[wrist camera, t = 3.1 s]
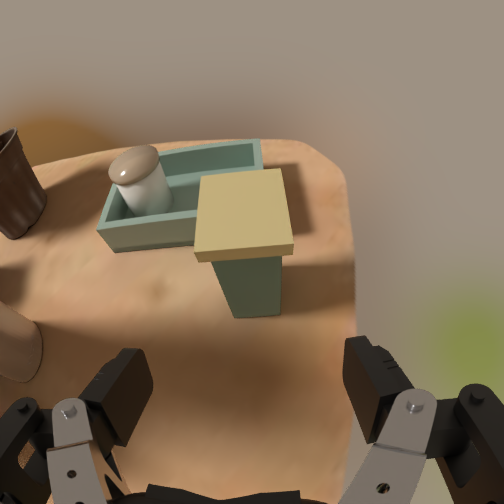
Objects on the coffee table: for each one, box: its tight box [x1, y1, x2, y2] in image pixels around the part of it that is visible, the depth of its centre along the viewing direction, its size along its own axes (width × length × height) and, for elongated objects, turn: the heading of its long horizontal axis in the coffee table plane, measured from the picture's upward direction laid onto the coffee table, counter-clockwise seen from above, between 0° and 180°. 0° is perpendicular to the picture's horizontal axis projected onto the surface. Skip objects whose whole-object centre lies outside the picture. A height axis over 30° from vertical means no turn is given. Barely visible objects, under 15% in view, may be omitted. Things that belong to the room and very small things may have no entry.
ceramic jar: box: [108, 145, 174, 218], centre depth 32 cm, size 6×6×8 cm
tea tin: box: [194, 168, 294, 318], centre depth 23 cm, size 6×7×13 cm
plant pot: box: [0, 127, 47, 239], centre depth 34 cm, size 16×16×16 cm
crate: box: [96, 139, 264, 253], centre depth 34 cm, size 20×13×5 cm, turn 93°
